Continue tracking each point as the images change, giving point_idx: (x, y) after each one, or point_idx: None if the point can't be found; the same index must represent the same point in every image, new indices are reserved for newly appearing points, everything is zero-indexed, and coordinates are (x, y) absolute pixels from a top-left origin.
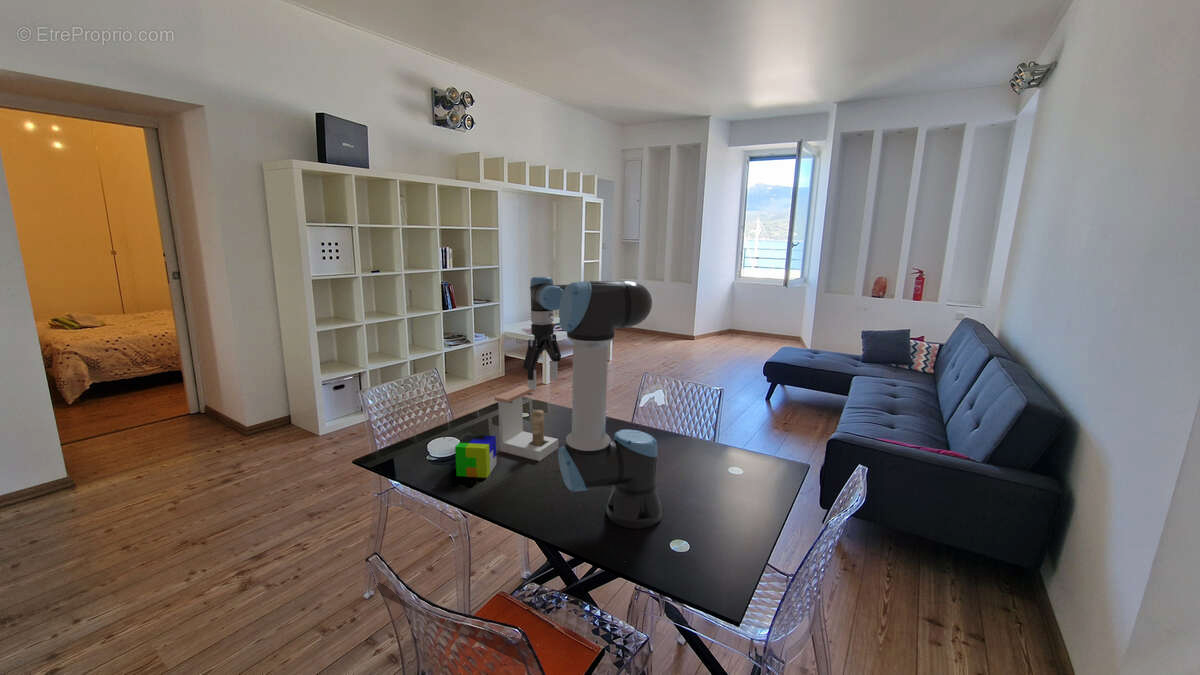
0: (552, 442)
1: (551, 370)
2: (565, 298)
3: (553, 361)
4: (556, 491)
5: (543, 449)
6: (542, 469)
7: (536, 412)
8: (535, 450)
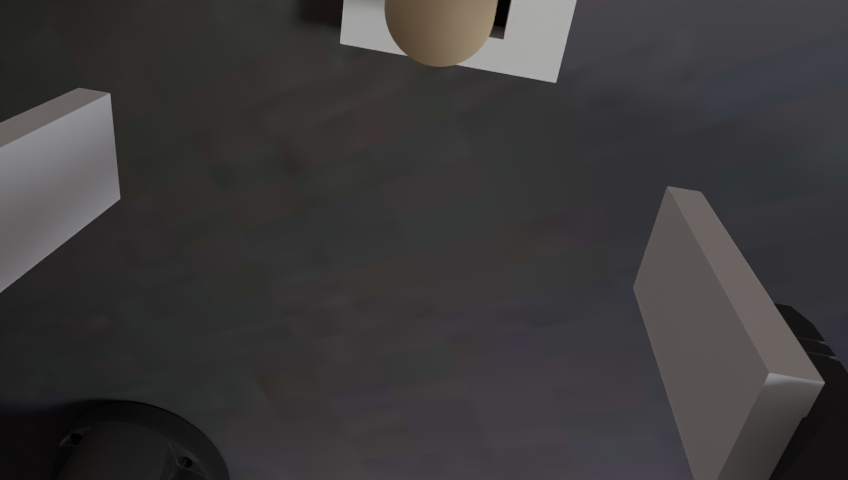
0: (492, 67)
1: (692, 286)
2: None
3: (748, 450)
4: (133, 219)
5: (382, 50)
6: (274, 86)
7: (416, 6)
8: (343, 11)
